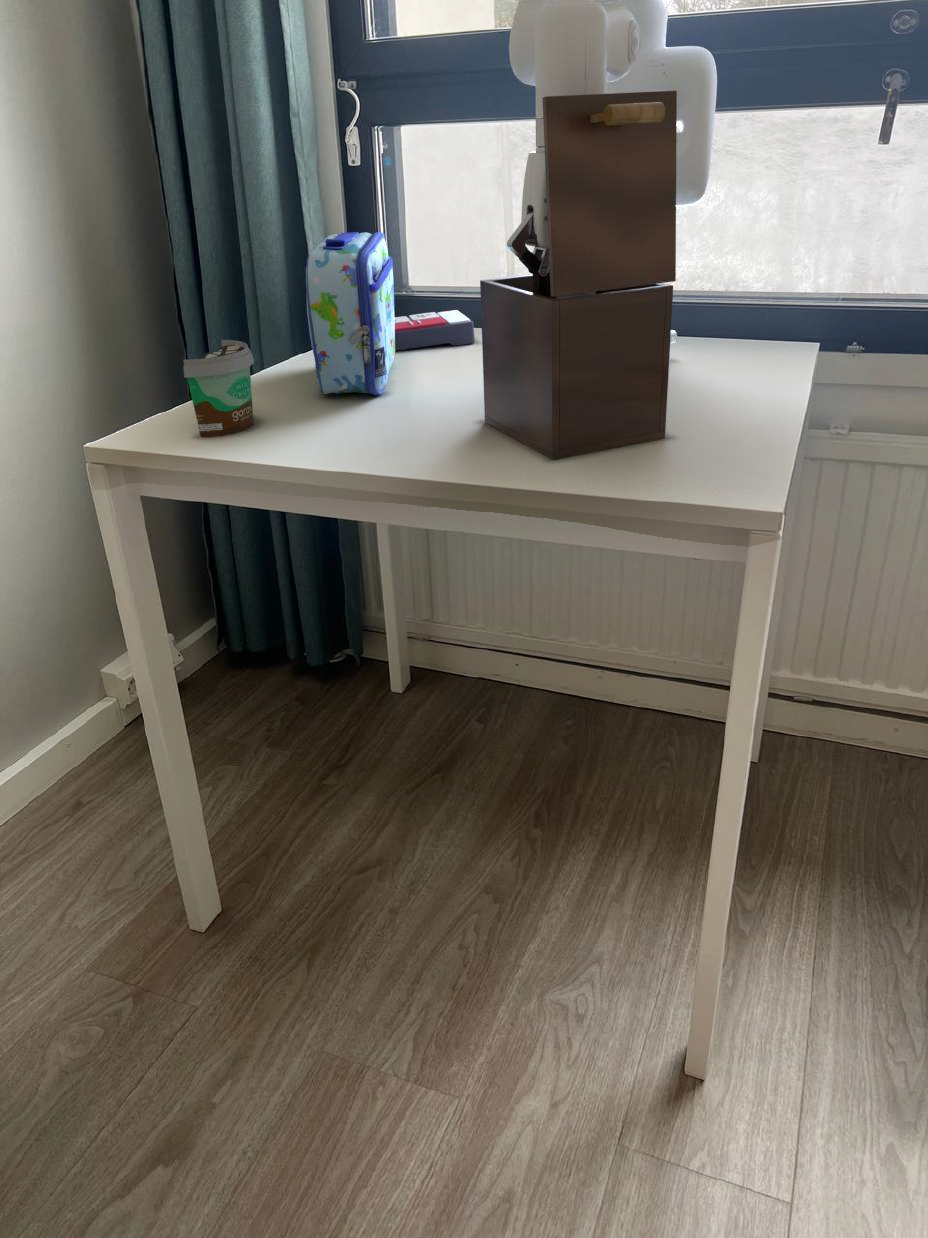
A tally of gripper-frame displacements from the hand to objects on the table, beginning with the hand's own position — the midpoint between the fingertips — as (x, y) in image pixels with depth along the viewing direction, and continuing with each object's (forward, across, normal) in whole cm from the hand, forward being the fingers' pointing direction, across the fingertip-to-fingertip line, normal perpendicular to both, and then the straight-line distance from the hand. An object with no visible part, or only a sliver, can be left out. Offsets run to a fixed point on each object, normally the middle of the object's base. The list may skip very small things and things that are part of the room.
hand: (569, 305), depth 114 cm
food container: (+15, +36, -24) cm, 46 cm away
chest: (+15, 0, +1) cm, 15 cm away
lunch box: (+15, +14, -38) cm, 43 cm away
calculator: (+15, -5, -58) cm, 60 cm away
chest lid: (-12, 0, +9) cm, 15 cm away
